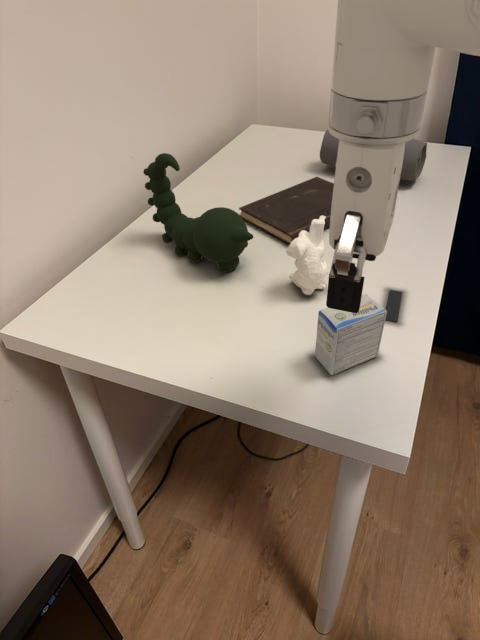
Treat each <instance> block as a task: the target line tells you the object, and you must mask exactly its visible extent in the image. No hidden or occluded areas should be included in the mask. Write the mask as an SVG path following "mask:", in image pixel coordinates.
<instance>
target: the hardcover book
mask: <svg viewBox="0 0 480 640" xmlns="http://www.w3.org/2000/svg"><path fill="white" fill-rule="evenodd" d="M333 187H334V182H331V181H329V180H327V179H324V178H321V177H319V176H315V177H312V178H310V179H307V180H304V181H302V182H300V183H297V184H294V185H292V186H290V187H288V188H285V189H282V190H279V191H277V192H274V193H273V194H270V195H268V196H265V197H262V198H260V199H258V200H255V201H252V202H250V203H247V204H245V205H243V206H239V207H238V210H240V216H241V217H242V219H243V220H244V222H247V223H248V224H250V225H252V226H253V227H255V228H258V229H259V230H261V231H263V232H265V233H266V234H268V235H270V236H272V237H273V238H275V239H277V240H279V241H281V242H283V243H285V244H287V245H288V246H289V245H290V243H291V242H292V241H293V240H294V239H295V238H298V237H299V233H300V232H301V231H302V230H305V231H307V232H308V233H309V231H310V226H311V222H312V221H313V219H319V217H320V216H321V215H323V216H326V218H325V220H324V221H325V225H324V229H323V231H325V230H326V229H328V228H330V217H331V206H332V196H333Z"/></svg>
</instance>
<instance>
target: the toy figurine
mask: <svg viewBox="0 0 480 640" xmlns="http://www.w3.org/2000/svg"><path fill="white" fill-rule="evenodd" d="M168 167H170V168H172V169H173V170H175V171H176V172H179V171H180V164H179V163H178V161H177V159H176V157H175V156H173V155H172V154H171V153H167V152H163V153H159V154H158V155H157V156H156V157H155V158H154V161H153V162H150V163H149V164H148V166H147V167H146V168H144V169H143V172H142V173H143V175H144V176H147V177H148V179H149V181H147V182H145V184H144V188H145V190H147V191H151V193H152V197H149V198H148V199H147V204H148V205H149V206H154V207H155V208H156V212H155V213H153V215H152V220H153V222H155V223H161V225H163V228H164V231H165V232H164V233H163V234H162V235H161V240H162V241H163V243H166V244H169V243H172V242H173V243H174V245H175V246H174V249H173V251H174V252H175V254H176V256H180V257H181V256H184V255H185V253H186V252H187V258H188V259H189V260H190V262H191V263H197V262H199V261H201V260H202V259H203V258H205V259H207V260H208V261H210V262H213V263H217V267H218V269H219V270H220V271H221V272H224V273H228V272H231V271H233V270H235V269H236V268H237V267H238V266H239V265H240V257H239V256H240V255H241V254H243V252H244V250H245V249H246V248H247V247H249V246H248V245H249V241H251V240H253V239H254V234H252V232H250V231H249V230H248V227H247V224H246V221H245V220H243V219H242V217H241V214H239V213H238V212H236V211H235V210H233V209H231V208H228V207H221V206H220V207H213V208H210V209H207V210H206V211H204V212H203V213H202V214H201V215H200V216H197V217H194V218H193V217H188V216H187V215H186V214H184V213H183V212H182V209H181V207H180V205H179V204H178V203H177V202H176V194H175V193H174V191H173V190H172V189H171V187H172V186H171V185H172V183H171V180H170V178H169V177H168V176H167V168H168Z"/></svg>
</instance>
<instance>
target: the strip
mask: <svg viewBox="0 0 480 640" xmlns="http://www.w3.org/2000/svg"><path fill="white" fill-rule="evenodd" d="M402 297H403V291H400V290H393V289H389V293H388V297H387V301H386V302H387V303H386V309H385V310H386V311H387V314H386V318H385V321H388V322H392V323H398V321H399V315H400V309H401V303H402Z"/></svg>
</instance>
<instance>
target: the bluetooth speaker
mask: <svg viewBox="0 0 480 640" xmlns="http://www.w3.org/2000/svg"><path fill="white" fill-rule="evenodd" d="M338 146H339V139H338V138H336V137H334V136H332V135H331V134H330V133H329V131H328V128H327V129H326V131H325V132H324V134H323V137H322V141H321V144H320V149H319V160H320V162H321V163H322V164H324V165H327V166H331V167H335V168H336V162H337V154H338ZM427 149H428V142H426V141H422V140H420V139H419V140H418V139H416V138H414V139H412V140H410V141H408V142H405V150H404V158H403V164H402V170H401V176H400V180H403V181H417V180H418V179H419V178H420V176H421V174H422V173H423V169H424V166H425V163H426V159H427V151H428V150H427Z"/></svg>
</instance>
